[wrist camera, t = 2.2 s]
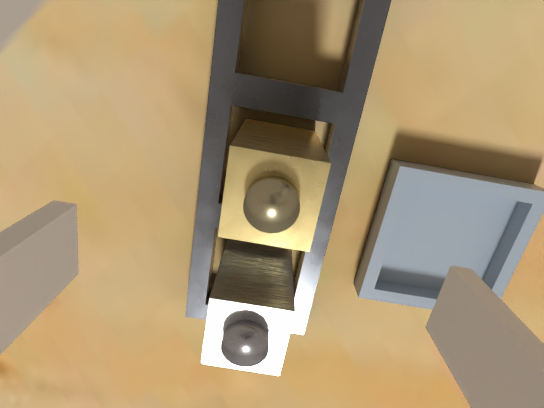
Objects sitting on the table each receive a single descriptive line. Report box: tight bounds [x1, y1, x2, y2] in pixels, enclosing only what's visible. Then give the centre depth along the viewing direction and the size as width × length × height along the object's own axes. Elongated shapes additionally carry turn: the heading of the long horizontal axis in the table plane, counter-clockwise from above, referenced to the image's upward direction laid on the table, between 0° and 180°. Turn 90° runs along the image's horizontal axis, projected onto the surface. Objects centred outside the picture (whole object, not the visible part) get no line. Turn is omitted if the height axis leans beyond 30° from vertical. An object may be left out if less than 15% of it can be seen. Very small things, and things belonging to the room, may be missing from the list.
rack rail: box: [185, 0, 391, 335], centre depth 26 cm, size 28×10×2 cm, turn 170°
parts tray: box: [354, 159, 544, 310], centre depth 28 cm, size 11×11×2 cm
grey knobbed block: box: [201, 239, 295, 376], centre depth 25 cm, size 5×5×10 cm
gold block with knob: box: [218, 119, 331, 252], centre depth 22 cm, size 5×5×10 cm
